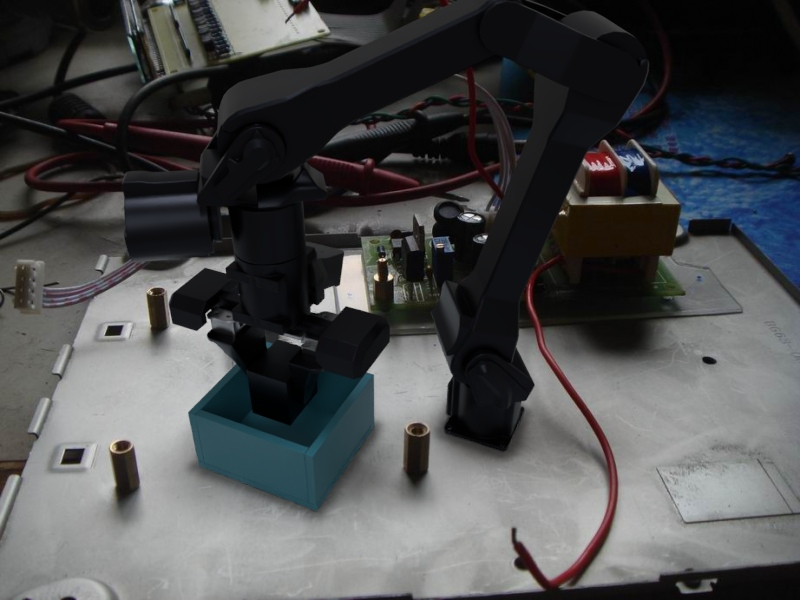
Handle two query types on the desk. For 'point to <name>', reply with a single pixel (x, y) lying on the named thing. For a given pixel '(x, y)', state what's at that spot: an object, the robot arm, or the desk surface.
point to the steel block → (275, 384)
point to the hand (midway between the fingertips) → (285, 394)
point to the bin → (284, 436)
